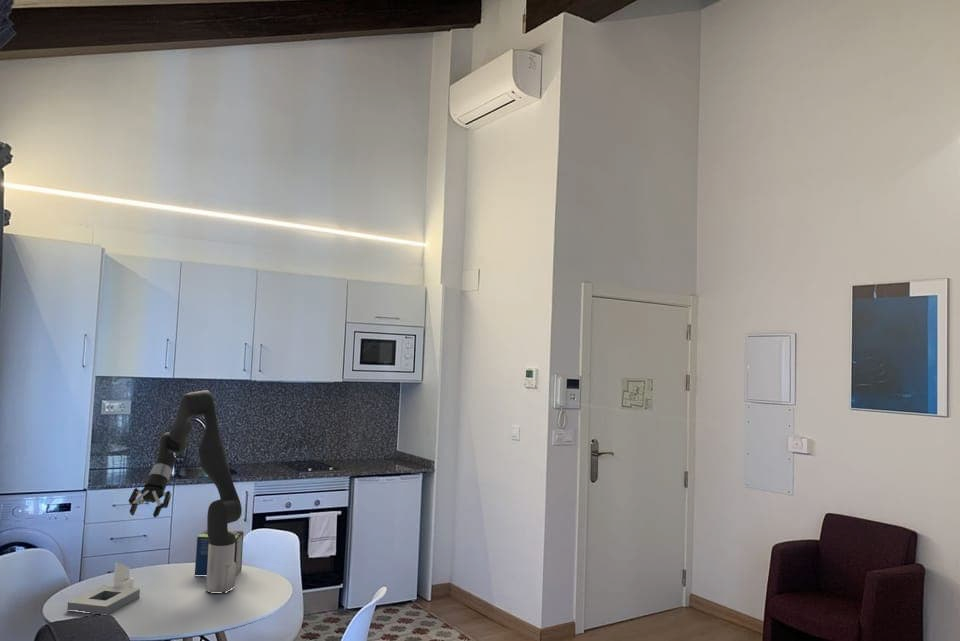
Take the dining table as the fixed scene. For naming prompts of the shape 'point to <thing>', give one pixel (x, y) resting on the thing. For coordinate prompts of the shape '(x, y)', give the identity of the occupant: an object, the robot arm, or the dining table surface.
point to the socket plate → (104, 599)
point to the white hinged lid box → (122, 576)
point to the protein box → (203, 552)
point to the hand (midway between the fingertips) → (143, 515)
